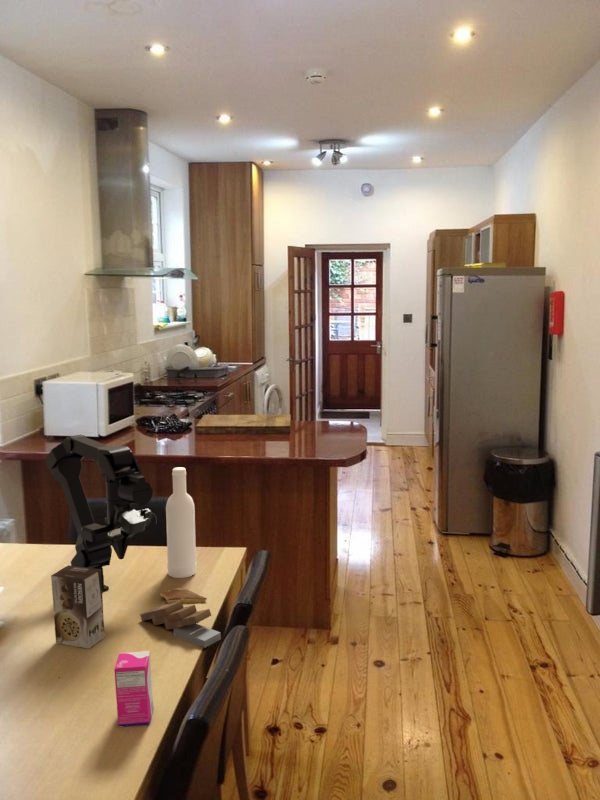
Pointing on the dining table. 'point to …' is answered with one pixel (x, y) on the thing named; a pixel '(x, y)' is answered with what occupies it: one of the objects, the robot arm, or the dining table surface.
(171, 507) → the bottle
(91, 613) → the coffee box
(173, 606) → the domino
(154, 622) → the domino
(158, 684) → the dining table surface
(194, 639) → the domino
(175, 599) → the shard
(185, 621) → the domino
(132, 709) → the supplement box
